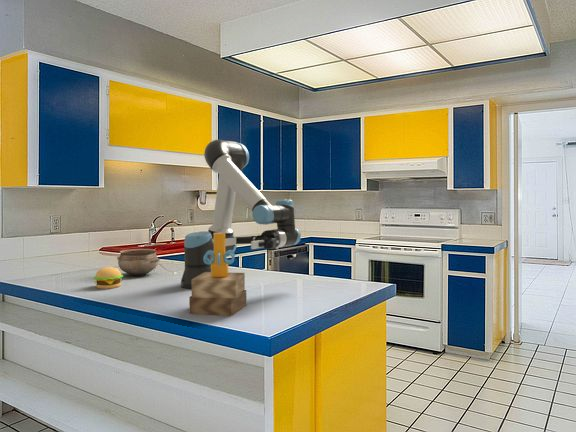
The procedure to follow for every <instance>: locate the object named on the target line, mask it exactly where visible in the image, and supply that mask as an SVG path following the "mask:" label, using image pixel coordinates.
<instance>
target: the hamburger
mask: <svg viewBox="0 0 576 432" xmlns="http://www.w3.org/2000/svg"><path fill="white" fill-rule="evenodd" d="M123 277H124V274H122V272H121V271H120V269H118V268H117V267H113V266H106V267H102V268H99V270H97V272H96V273H95V276H93V279H94V284H95V287H96V288H97V289H102V290H110V289H115V288H119V287H120V286H121V285H122V282H123V279H122V278H123Z"/></svg>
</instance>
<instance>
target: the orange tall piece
mask: <svg viewBox="0 0 576 432" xmlns="http://www.w3.org/2000/svg"><path fill="white" fill-rule="evenodd" d="M230 252H231V253H230ZM228 254H229V255H230V257H231V259H228V258H227V257H226V256H227V255H228ZM207 255H212V260H209V259H208V257H207ZM235 257H236V254H235V251H234V252H233V251H232V250H228V251H226V252H225V233H222V232H218V233H214V252H213V251H211V250H209V251H207V252H206V254H205V255H204V258H203V260H204V263H205V264H207V265H210V264H211V276H212V277H226V276H228V273H229V265H232V264H233V263H234V261H235ZM206 260H207V261H208V262H207V261H206Z"/></svg>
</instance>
